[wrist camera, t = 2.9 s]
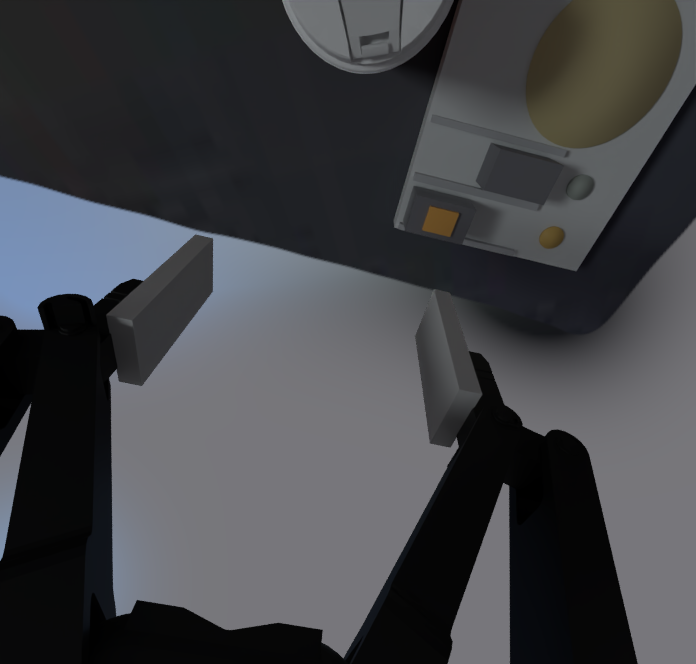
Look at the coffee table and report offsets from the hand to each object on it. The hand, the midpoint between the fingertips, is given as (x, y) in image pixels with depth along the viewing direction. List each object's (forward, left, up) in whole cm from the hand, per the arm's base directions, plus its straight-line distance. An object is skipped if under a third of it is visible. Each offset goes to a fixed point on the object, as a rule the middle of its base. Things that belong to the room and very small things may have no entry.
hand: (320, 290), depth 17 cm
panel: (+14, +8, -21) cm, 26 cm away
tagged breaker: (+8, 0, -19) cm, 20 cm away
